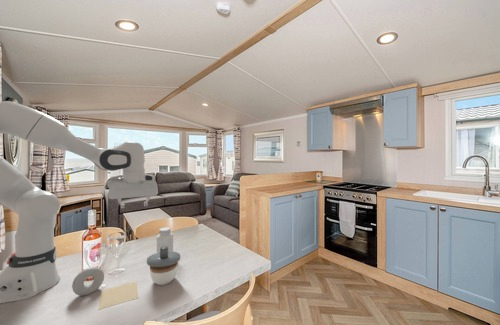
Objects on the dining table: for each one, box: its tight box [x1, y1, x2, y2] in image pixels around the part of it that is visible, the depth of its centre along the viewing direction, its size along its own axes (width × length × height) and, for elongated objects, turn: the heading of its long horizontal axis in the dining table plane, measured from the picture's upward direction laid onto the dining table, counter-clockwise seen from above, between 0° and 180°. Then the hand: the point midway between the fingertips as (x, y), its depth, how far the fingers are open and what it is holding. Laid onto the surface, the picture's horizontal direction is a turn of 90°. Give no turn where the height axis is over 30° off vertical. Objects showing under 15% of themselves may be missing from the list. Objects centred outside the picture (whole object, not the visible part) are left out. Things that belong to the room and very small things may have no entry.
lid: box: [146, 246, 181, 267], centre depth 90 cm, size 13×13×5 cm
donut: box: [71, 266, 105, 297], centre depth 82 cm, size 10×4×10 cm, turn 141°
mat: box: [98, 281, 139, 310], centre depth 81 cm, size 12×12×1 cm
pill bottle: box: [156, 226, 174, 253], centre depth 111 cm, size 8×8×15 cm
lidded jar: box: [149, 261, 179, 286], centre depth 90 cm, size 11×11×9 cm
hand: (134, 206), depth 99 cm, fingers open, 8 cm apart
